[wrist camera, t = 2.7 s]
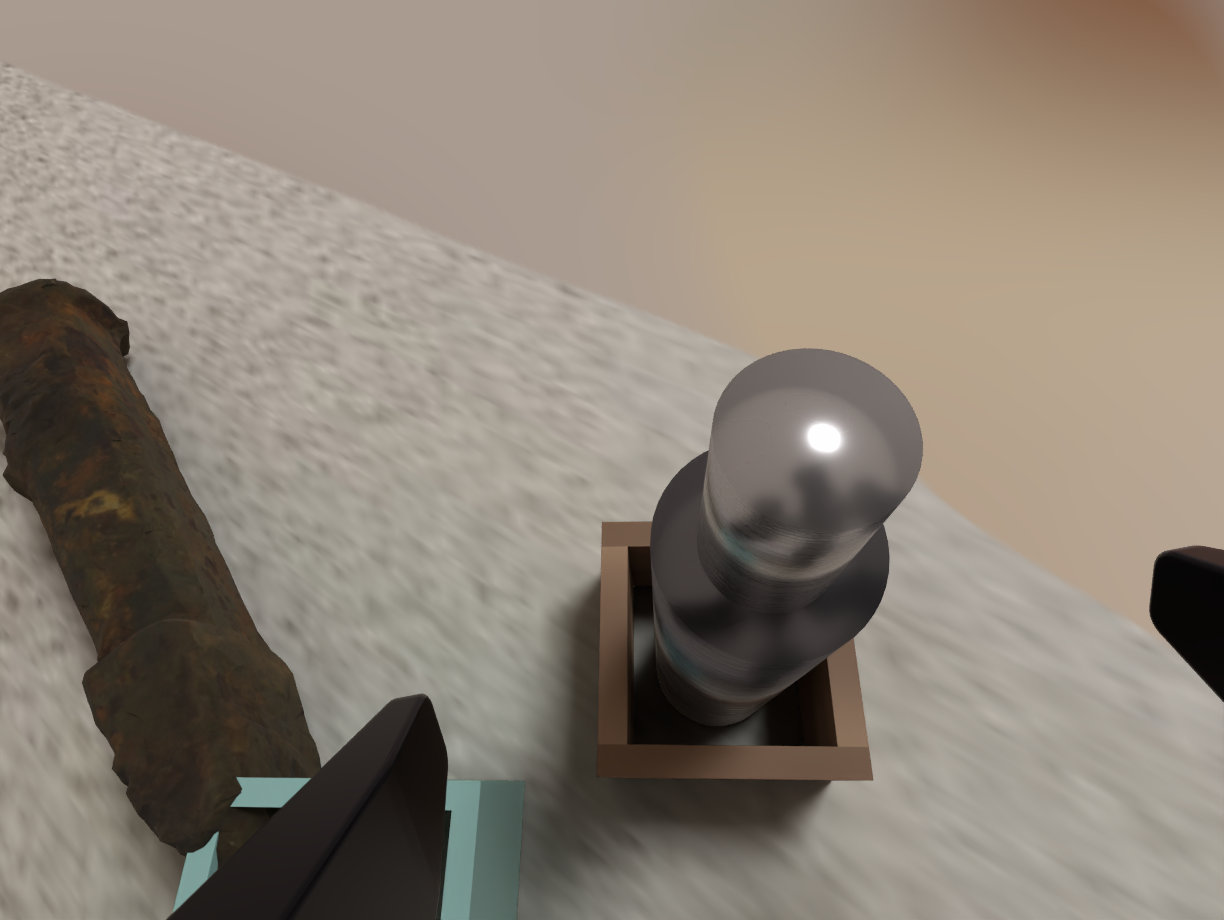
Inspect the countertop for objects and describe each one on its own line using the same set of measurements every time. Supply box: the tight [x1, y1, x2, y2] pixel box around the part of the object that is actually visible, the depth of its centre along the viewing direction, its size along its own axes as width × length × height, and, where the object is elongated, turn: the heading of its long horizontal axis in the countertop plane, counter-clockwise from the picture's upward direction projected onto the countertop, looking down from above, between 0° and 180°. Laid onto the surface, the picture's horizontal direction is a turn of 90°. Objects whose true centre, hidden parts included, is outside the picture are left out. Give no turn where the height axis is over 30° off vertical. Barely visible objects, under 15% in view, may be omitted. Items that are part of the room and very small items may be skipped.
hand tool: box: [0, 279, 321, 870], centre depth 17 cm, size 19×4×5 cm, turn 36°
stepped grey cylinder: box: [650, 349, 923, 726], centre depth 12 cm, size 3×3×13 cm
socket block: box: [597, 522, 873, 781], centre depth 16 cm, size 5×5×4 cm
